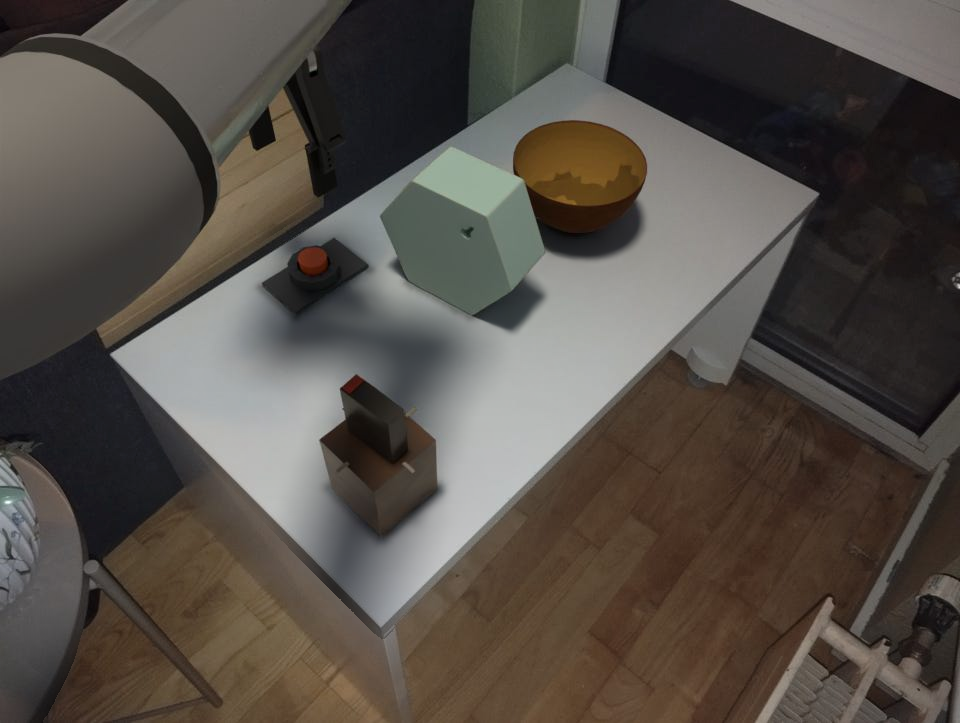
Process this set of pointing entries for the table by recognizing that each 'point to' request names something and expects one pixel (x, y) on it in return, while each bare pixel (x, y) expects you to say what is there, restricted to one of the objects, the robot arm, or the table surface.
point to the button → (313, 261)
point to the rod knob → (374, 418)
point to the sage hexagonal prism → (464, 231)
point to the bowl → (579, 174)
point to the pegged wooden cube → (381, 474)
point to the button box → (314, 277)
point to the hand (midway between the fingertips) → (294, 166)
